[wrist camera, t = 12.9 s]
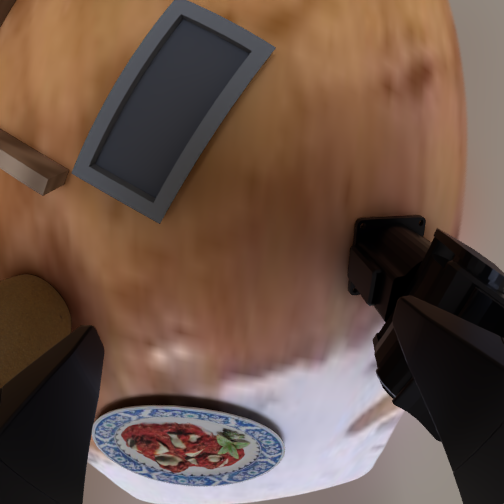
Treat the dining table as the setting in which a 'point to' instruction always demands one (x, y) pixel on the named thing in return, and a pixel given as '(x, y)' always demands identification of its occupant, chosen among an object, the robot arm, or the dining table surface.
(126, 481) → the dining table surface
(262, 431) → the ceramic plate
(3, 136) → the frame
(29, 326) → the plant pot
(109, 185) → the tray
